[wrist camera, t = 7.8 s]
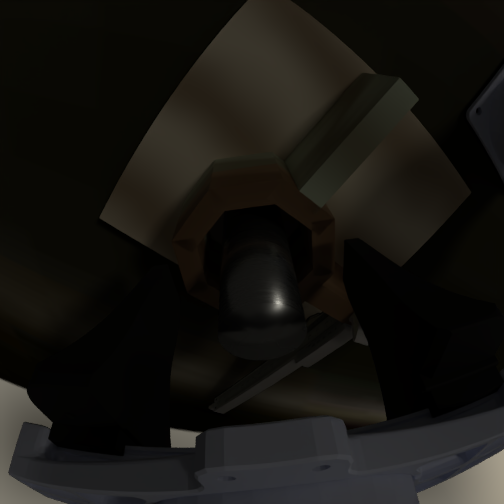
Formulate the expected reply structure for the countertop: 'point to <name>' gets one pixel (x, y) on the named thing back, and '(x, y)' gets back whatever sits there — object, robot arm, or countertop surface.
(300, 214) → the hinge base
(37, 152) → the countertop surface
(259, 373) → the caliper
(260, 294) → the steel pin
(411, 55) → the countertop surface
